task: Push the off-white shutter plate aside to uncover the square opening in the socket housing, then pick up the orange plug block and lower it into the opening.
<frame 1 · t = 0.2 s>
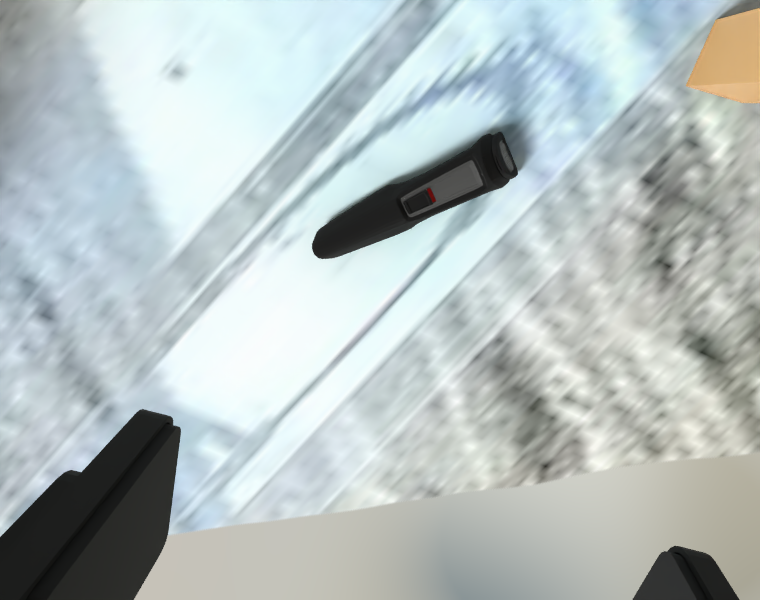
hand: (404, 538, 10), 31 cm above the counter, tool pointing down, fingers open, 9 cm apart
electric trimmer: (416, 199, 39), on the counter
plug: (729, 62, 34), on the counter
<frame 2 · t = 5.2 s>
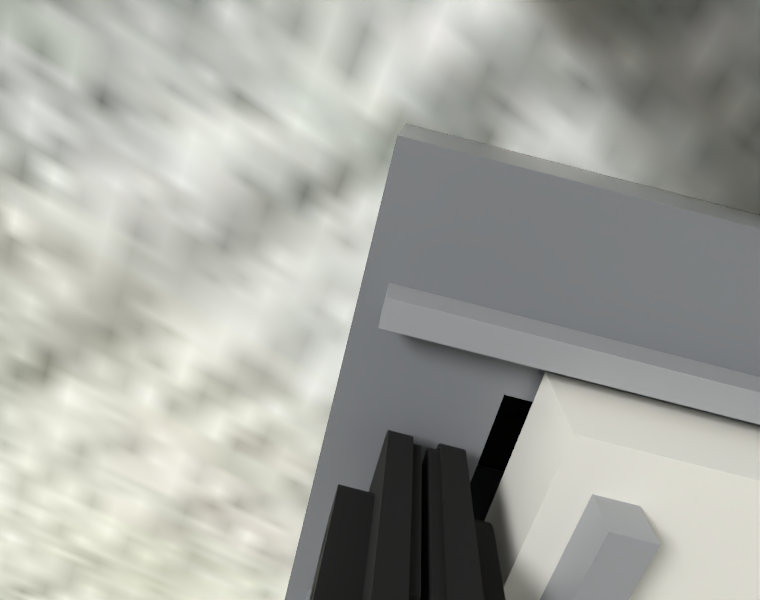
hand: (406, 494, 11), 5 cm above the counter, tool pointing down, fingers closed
socket: (537, 404, 16), on the counter
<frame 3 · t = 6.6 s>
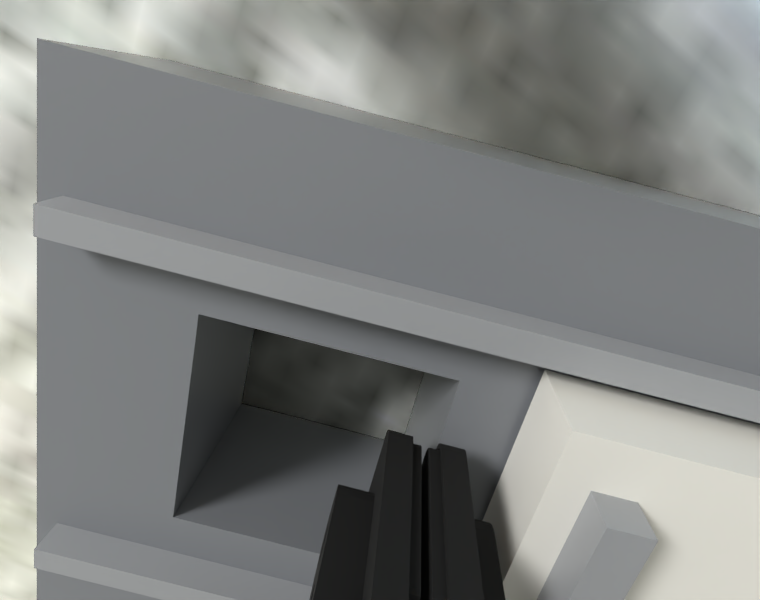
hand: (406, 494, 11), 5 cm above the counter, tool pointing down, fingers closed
socket: (339, 352, 16), on the counter
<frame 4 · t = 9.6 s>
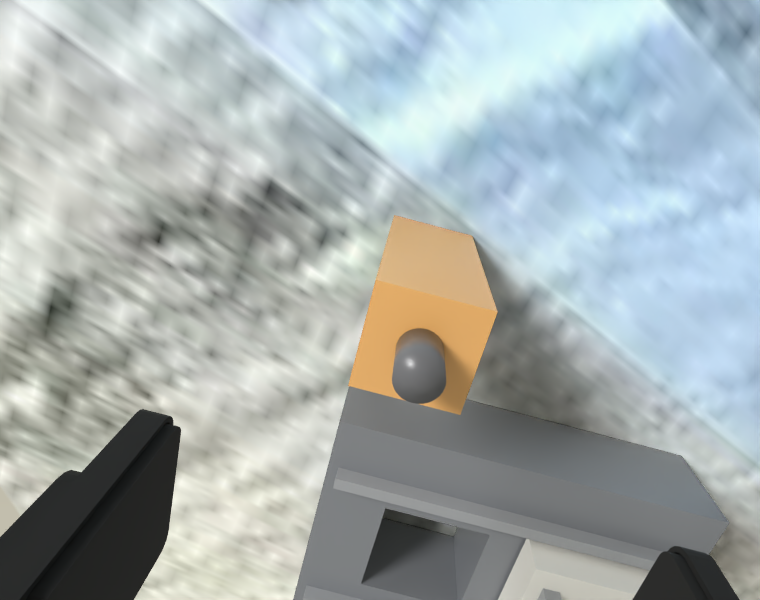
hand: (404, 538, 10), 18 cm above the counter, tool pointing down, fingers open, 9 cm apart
socket: (423, 493, 32), on the counter
plug: (422, 262, 27), on the counter
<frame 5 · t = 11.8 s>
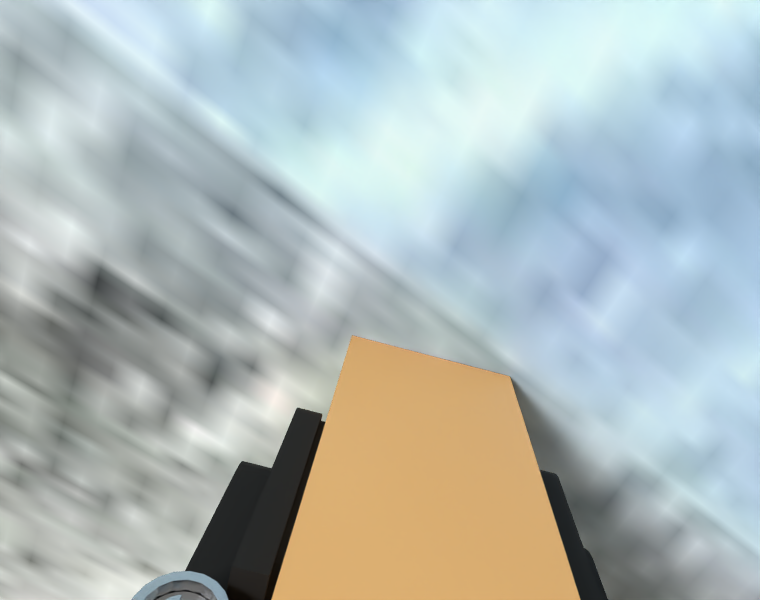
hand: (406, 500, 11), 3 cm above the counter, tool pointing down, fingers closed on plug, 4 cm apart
plug: (409, 422, 13), on the counter, touching gripper
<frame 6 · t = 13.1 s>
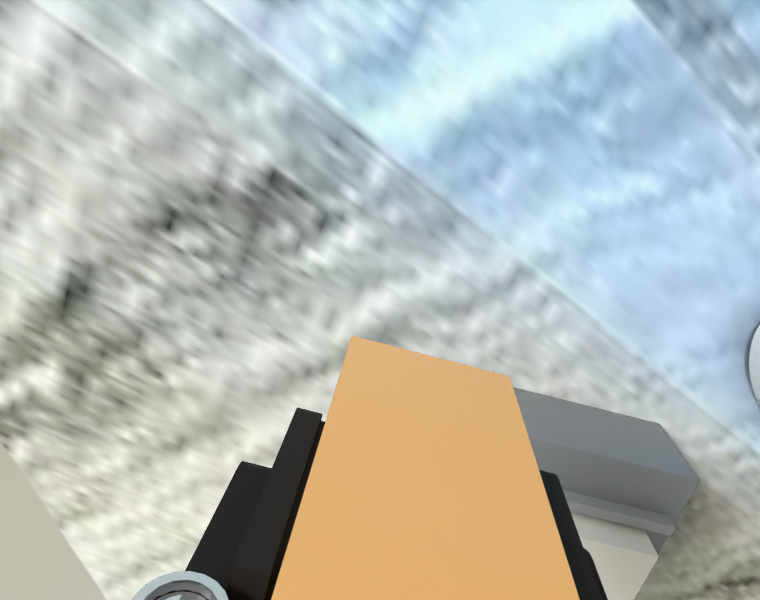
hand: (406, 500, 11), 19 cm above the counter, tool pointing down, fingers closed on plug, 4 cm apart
socket: (419, 464, 34), on the counter
plug: (409, 422, 13), point 16 cm above the counter, touching gripper
shutter: (562, 580, 28), point 7 cm above the counter, slide at 7.9 cm
when the fingers open (5 cm above the counter, at t = 16.4 s): plug drops 2 cm, resting in socket.
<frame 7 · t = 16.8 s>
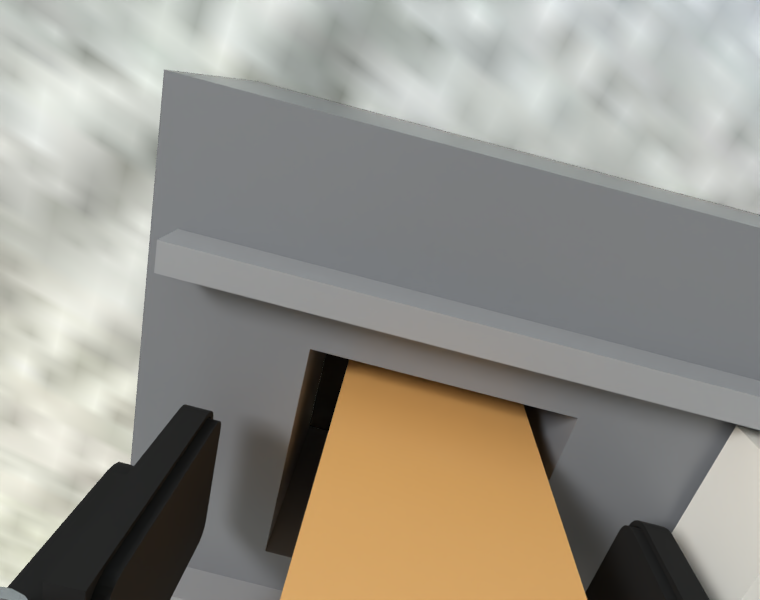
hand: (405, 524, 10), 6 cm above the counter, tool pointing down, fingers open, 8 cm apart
socket: (412, 375, 16), on the counter
plug: (414, 374, 16), resting in socket
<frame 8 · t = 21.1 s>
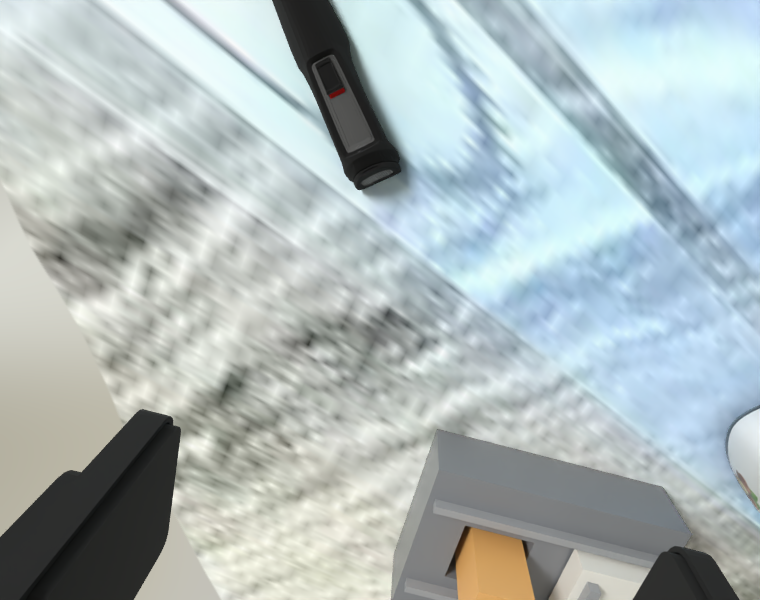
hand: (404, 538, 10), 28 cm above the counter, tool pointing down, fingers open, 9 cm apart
socket: (481, 512, 45), on the counter
electric trimmer: (331, 75, 34), on the counter
plug: (482, 512, 45), resting in socket
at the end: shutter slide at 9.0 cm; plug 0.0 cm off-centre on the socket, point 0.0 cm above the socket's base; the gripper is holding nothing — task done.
